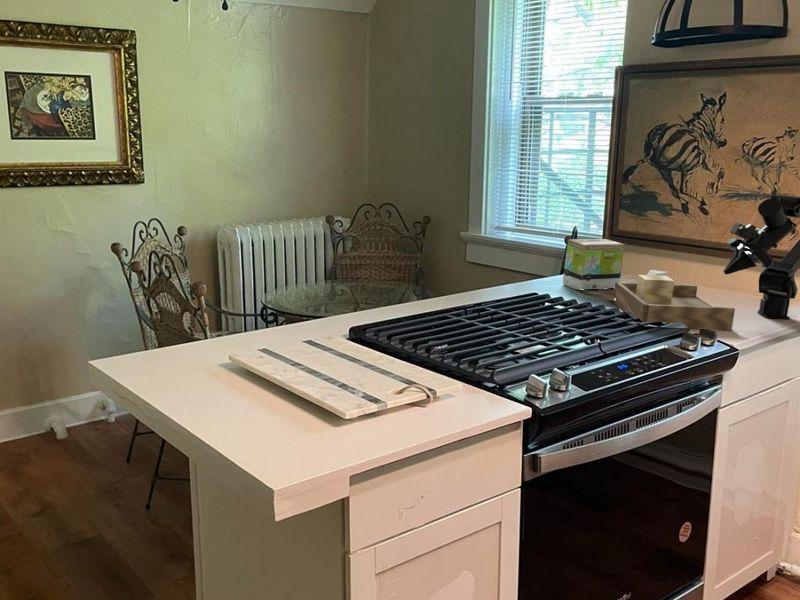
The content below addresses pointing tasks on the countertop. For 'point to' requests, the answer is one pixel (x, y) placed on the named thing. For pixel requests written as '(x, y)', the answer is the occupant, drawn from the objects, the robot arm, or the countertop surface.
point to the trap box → (675, 308)
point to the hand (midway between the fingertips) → (724, 273)
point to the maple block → (655, 289)
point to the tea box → (593, 263)
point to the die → (658, 273)
